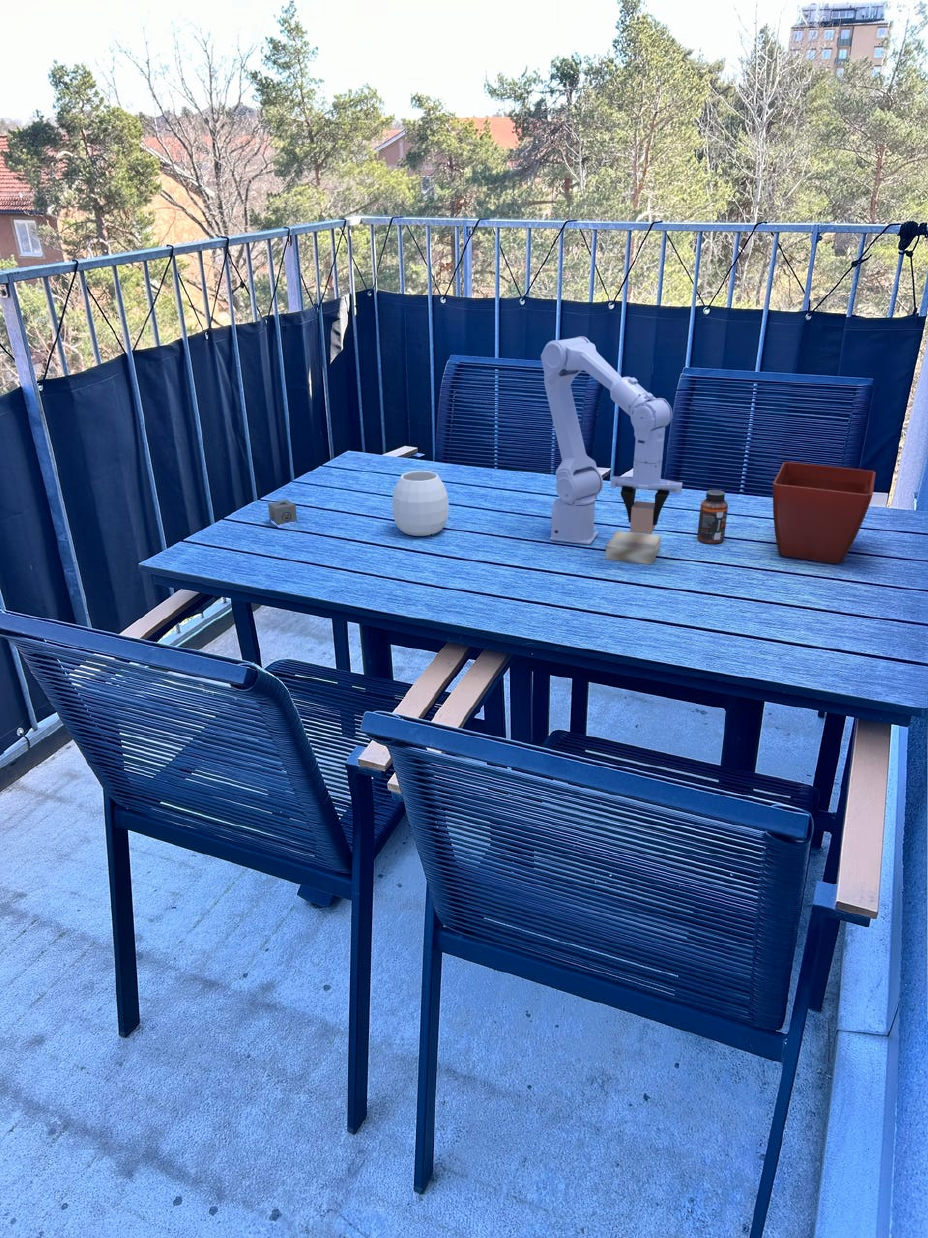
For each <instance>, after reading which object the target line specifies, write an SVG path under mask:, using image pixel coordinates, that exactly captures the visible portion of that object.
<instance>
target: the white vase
mask: <svg viewBox="0 0 928 1238" xmlns="http://www.w3.org/2000/svg"><path fill="white" fill-rule="evenodd" d="M448 495H449V494H448V491H447V489H446V487H445V485H444V483H443V481H442V480H441V478H440V476H439V475H438V473H435V472H434V471H430V470H413V471H408V472H405V473H403V474H401V475H400V477H399V478H398V480H397V483H396V485H395V488H394V489H393V494H392V503H391V504H392V505H391V506H392V517H393V519H394V523H395V524H396V527H397V528H398V529H399V530H400V531H401V532H402V533H405V534H406V535H410V536H416V537H417V536H418V537H424V536H426V537H427V536H430V535H431V534H432V535H436V534H437V533H439V532H440V531H442V530H443V528H444V527H445V526H446V524H447V522H448V519H449V516H450V513H449V512H450V503H449V497H448ZM432 535H431V536H432Z"/></svg>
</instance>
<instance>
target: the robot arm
mask: <svg viewBox="0 0 928 1238" xmlns="http://www.w3.org/2000/svg"><path fill="white" fill-rule="evenodd" d="M541 352H542V353H541V354H540V361H541V364H542V369H543V373H544V376H543V379H544V380H543V382H544V388H545V392H546V397H547V401H548V405H549V410H550V414H551V419H552V422H553V427H554V428H553V429H554V431H555V435H556V439H557V443H558V445H557V446H558V448H559V453H560V457H561V463H560V464H559V466H558V467H557V469H556V471H555V477H556V484H555V491H556V494H557V496H558V498H555V499H554V501H553V504H552V508H551V522H550V523H551V525H550V527H551V528H550V538H549V539H550V540H551V541H556V542H565V543H573V544H582V545H584V544H585V545H592V543H593V541H594V540H595V538H597V536H598V534H599V532H598V531H596V530H594V529H595V528H594V526H595V507H596V500H597V499H598V495H599V494H600V493H601V492H602V490H603V488H604V487H603V486H604V479H603V476H602V474H601V472H600V470H599V469H598V467H597V463H596V461H595V460H594V459H592V458H591V457H590V456H588V455H587V453H586V448H585V443H584V438H583V435H582V431H581V425H580V421H579V417H578V412H577V409H576V404H575V399H574V396H573V390H572V383H573V381H574V380H575V377H577V376H578V375H579V374H580V373H581V372H582V371H585V372H586V373H587V374H588V375H589V376H591V377H592V378H593V379H595V380H596V381H598V383H600V384H602V385H603V386H604V387H605V388H607V389H608V390H609V393H610V399H611V400H612V401H613V403H615V404H616V405H618V407H620V408H621V409H622V411H623V412H625V413H626V414H627V415H628V416H630V422H631V425H632V427H633V429H634V435H633V436H634V437H635V443H634V454H633V455H634V456H633V466H632V467H633V469H632V476H615V475H612V477H611V478H610V486H609V487H610V488H613V489H614V488H621V490H620V497H621V499H622V501H623V503H624V506H625V508H626V513H627V519H628V523H629V524H631V511H632V506H633V504H634V503H635V501H636V493H637V490H643V491H644V490H646V491H654V492H656V493H655V494H654V503H655V510H654V517H653V525H655V526H657V524H658V522H659V517H660V514H661V511H662V509H663V507H664V504H665V502H666V500H667V498H668V497H669V495H670V493H673V494H676V495H681V494H682V489H683V482H682V481H674V480H669V479H663V478H661V477H662V476H661V475H662V466H663V455H664V443H665V436H666V435H665V433H666V427H667V426H668V425H669V424H671V421H672V419H673V409H672V407H671V405H670V404H669V402H668V401H667V400H666V399H665V398H662V397H658V398H656V397H655V396H654V395H653V394H652V393H651V392H648V391H647V390H645V388H644V387H642V386H641V385H640V384H639V383H638V382H639V381H638V380H637V378H635V377H631V376H623V377H622V376H621V375H620V374H619V373H618V372H617V371H616V370H615V369H614V368H613V367H612V366H611V364H610V363H608V362H607V361H606V360H605V358H603V356H602V355H600V354H599V352H598V350H597V348H596V345H595V343H593V342H591V341H590V339H588V338H587V337H586V336H581V335H580V336H576V337H573V338H572V337H571V338H567V339H566V338H565V339H560V340H558V339H557V340H551V341H548V342H547V343H546V345H545V346H544V348H543V351H541Z"/></svg>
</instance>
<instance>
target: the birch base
mask: <svg viewBox="0 0 928 1238" xmlns="http://www.w3.org/2000/svg"><path fill="white" fill-rule="evenodd" d="M661 539H662V535H656V534H643V533H634V532H630V531H629V532H628V531H620V530H616V531H615V532H614V534H613V535H612V537H611V538H610V539H609V541H608V543H607V544H606V547H605V548H606V549H605V560H610V561H620V562H626V563H627V562H628V563H636V564H637V563H638V564H644V565H645V564H646V565H653V563H654V561H655V559H656V557H657V555H658V554H659V551H660V547H661Z"/></svg>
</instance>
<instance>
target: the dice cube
mask: <svg viewBox="0 0 928 1238" xmlns="http://www.w3.org/2000/svg"><path fill="white" fill-rule="evenodd" d="M267 505H268V506H267V507H268V509H267V510H268V517H269V521H270V520H272V521H274V522H275V523H276V524H277V525H280V524H284V523H289V522H295V521H297V522H298V516H297V506H296V503H293V502H291V501H290V500H288V499H284V500H279V501H273V502H269V503H267Z"/></svg>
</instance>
